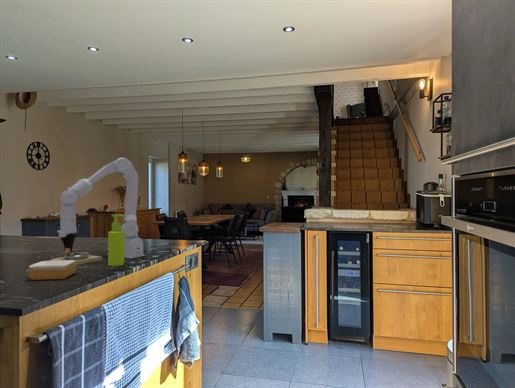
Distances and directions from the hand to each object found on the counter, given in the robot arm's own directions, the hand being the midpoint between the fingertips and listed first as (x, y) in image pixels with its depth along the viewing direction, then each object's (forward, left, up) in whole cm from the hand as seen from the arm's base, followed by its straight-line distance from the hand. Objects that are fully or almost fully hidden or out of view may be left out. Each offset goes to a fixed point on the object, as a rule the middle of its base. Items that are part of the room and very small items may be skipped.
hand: (68, 252), depth 145 cm
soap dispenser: (-23, -5, -4) cm, 24 cm away
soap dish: (-21, +19, -4) cm, 29 cm away
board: (-2, -2, -4) cm, 5 cm away
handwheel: (-2, -2, -2) cm, 4 cm away
